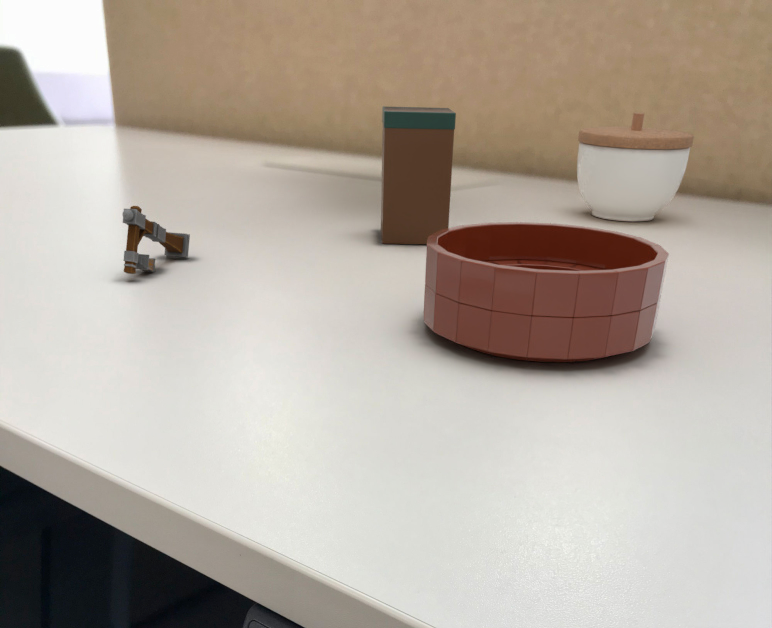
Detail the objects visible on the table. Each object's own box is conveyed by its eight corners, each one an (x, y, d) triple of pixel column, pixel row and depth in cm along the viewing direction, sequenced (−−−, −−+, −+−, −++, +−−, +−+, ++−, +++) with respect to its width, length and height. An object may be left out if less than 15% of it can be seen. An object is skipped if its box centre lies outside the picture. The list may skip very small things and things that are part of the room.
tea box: (379, 230, 73) (382, 106, 68) (442, 231, 74) (449, 108, 69) (381, 243, 68) (384, 111, 63) (448, 245, 69) (455, 112, 64)
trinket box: (612, 229, 76) (630, 117, 72) (548, 209, 85) (559, 109, 80) (701, 222, 80) (722, 116, 76) (630, 204, 89) (646, 108, 84)
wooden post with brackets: (108, 268, 55) (113, 199, 54) (163, 290, 63) (168, 229, 62) (133, 270, 55) (138, 201, 54) (185, 292, 63) (190, 231, 62)
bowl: (502, 290, 56) (509, 214, 54) (687, 331, 49) (706, 245, 46) (377, 332, 47) (379, 243, 45) (580, 389, 40) (596, 287, 38)
